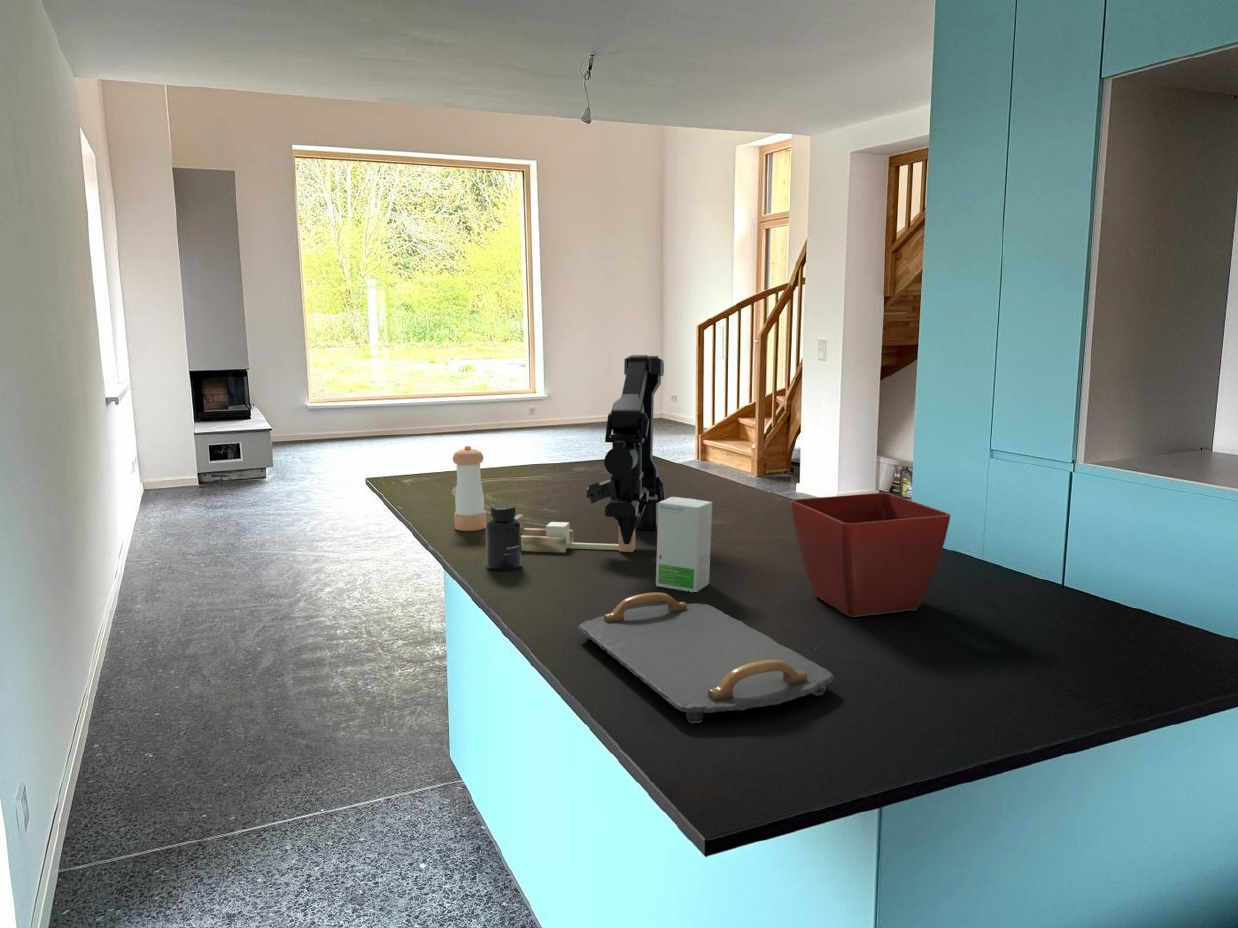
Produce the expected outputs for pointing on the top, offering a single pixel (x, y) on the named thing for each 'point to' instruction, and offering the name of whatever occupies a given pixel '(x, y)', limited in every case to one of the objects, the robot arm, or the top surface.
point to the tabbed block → (563, 531)
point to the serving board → (702, 656)
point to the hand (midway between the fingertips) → (628, 541)
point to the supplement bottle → (503, 539)
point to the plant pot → (869, 550)
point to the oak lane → (541, 539)
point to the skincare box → (683, 544)
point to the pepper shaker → (469, 491)
